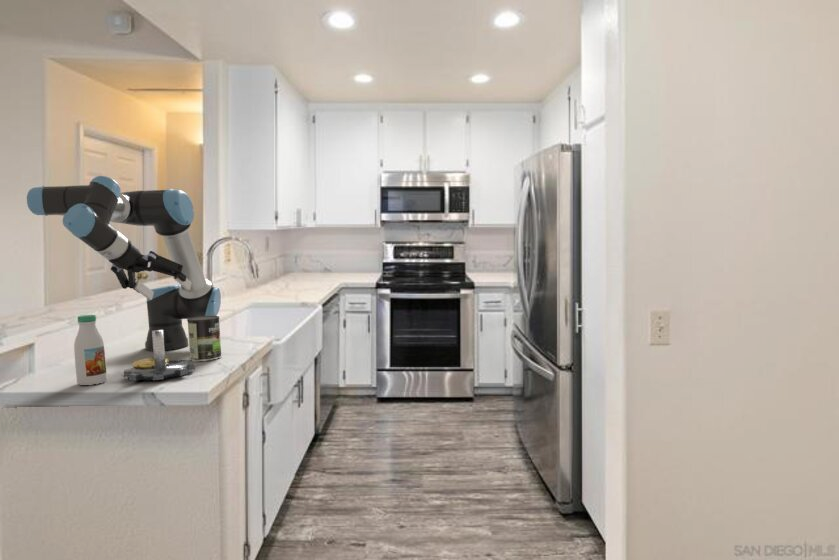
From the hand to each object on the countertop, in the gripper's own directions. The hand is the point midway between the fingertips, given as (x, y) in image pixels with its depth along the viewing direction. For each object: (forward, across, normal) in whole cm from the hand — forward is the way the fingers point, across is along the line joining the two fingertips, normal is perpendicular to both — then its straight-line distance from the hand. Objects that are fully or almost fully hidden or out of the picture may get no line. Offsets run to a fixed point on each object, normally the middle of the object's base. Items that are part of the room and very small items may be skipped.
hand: (170, 291), depth 175 cm
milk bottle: (+6, -27, -22) cm, 35 cm away
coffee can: (+34, -12, -3) cm, 36 cm away
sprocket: (+16, -12, -18) cm, 27 cm away
